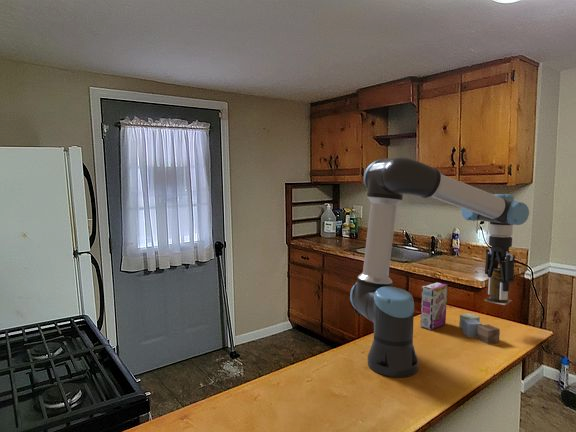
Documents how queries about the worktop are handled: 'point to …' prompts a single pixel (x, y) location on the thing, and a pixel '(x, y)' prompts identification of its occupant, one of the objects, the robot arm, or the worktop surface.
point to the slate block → (470, 327)
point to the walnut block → (488, 334)
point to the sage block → (467, 316)
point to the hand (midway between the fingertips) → (497, 296)
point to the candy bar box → (433, 305)
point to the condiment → (496, 288)
